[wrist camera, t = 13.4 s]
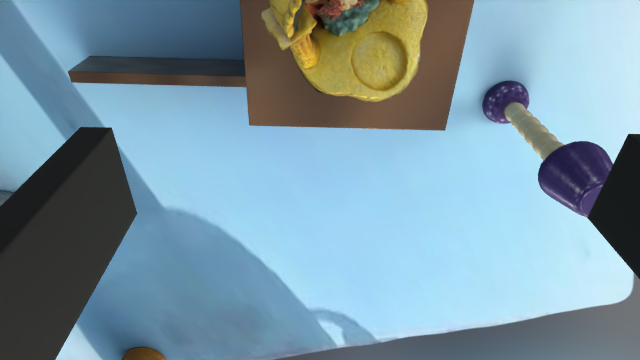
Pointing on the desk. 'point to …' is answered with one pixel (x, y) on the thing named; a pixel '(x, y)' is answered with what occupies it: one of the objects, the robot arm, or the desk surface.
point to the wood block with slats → (293, 89)
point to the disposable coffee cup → (143, 354)
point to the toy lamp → (552, 150)
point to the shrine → (351, 43)
